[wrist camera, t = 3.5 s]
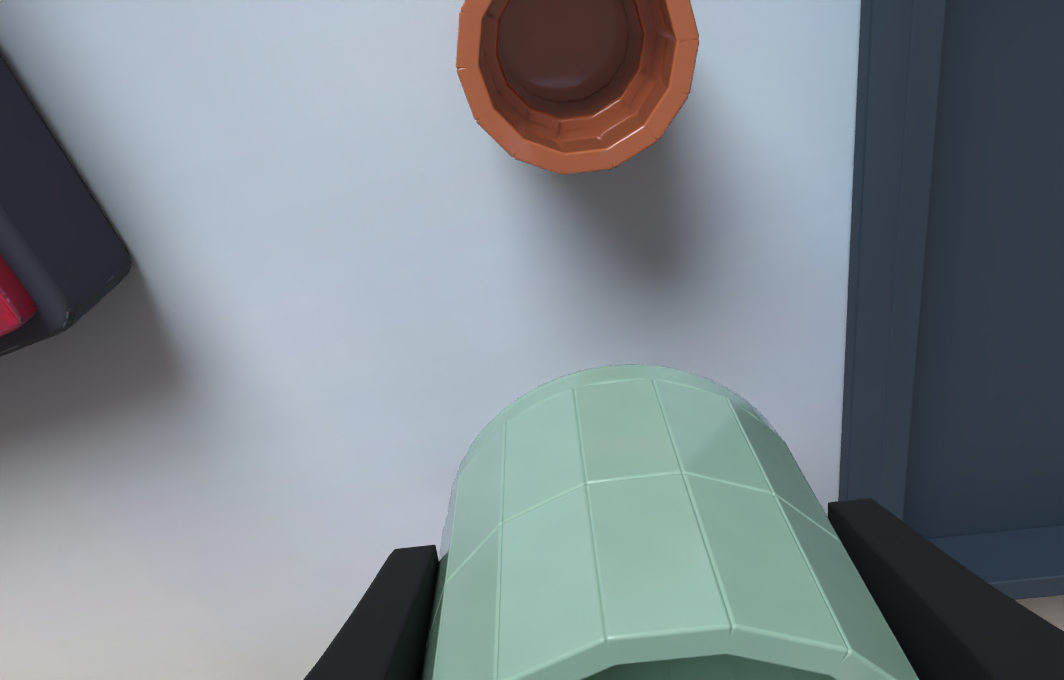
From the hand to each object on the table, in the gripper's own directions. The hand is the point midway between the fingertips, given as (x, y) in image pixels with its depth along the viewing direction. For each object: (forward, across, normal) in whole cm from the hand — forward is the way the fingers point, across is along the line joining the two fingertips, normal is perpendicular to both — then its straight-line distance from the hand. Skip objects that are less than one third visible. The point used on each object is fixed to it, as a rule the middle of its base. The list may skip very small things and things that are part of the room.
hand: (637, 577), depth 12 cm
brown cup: (+8, 0, -7) cm, 11 cm away
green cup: (+1, 0, 0) cm, 1 cm away
